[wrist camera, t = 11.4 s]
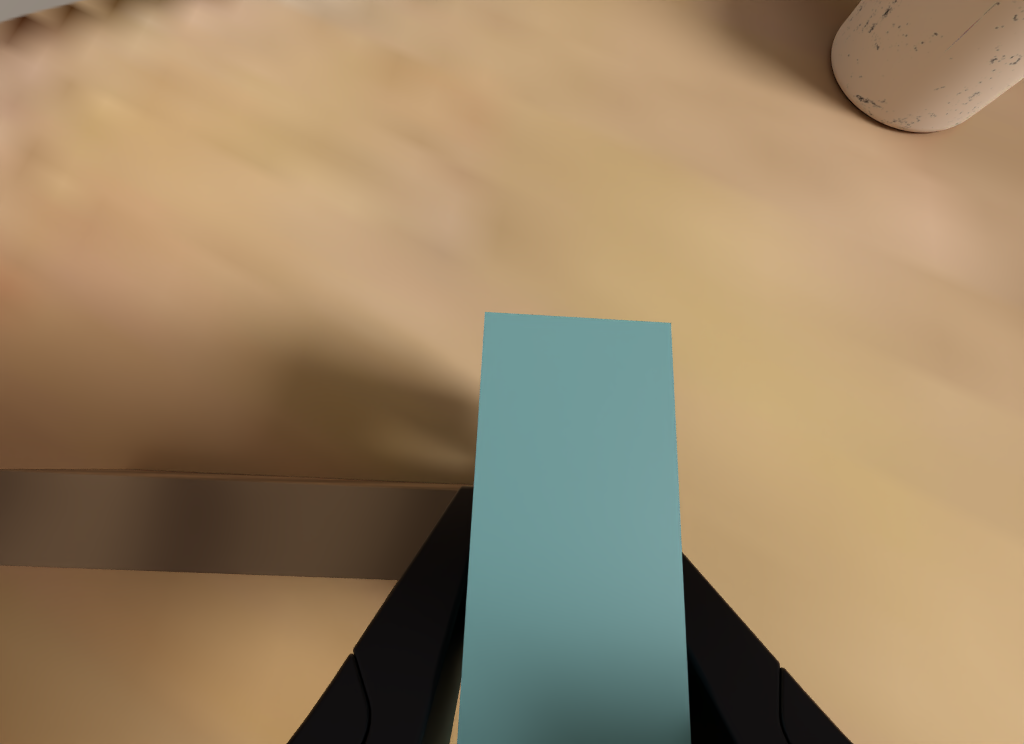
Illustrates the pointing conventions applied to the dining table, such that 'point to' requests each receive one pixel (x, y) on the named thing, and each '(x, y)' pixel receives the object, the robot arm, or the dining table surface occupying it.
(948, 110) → the teacup with lid
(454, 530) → the robot arm
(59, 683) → the dining table surface
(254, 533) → the walnut rail
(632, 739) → the teal notched plate
